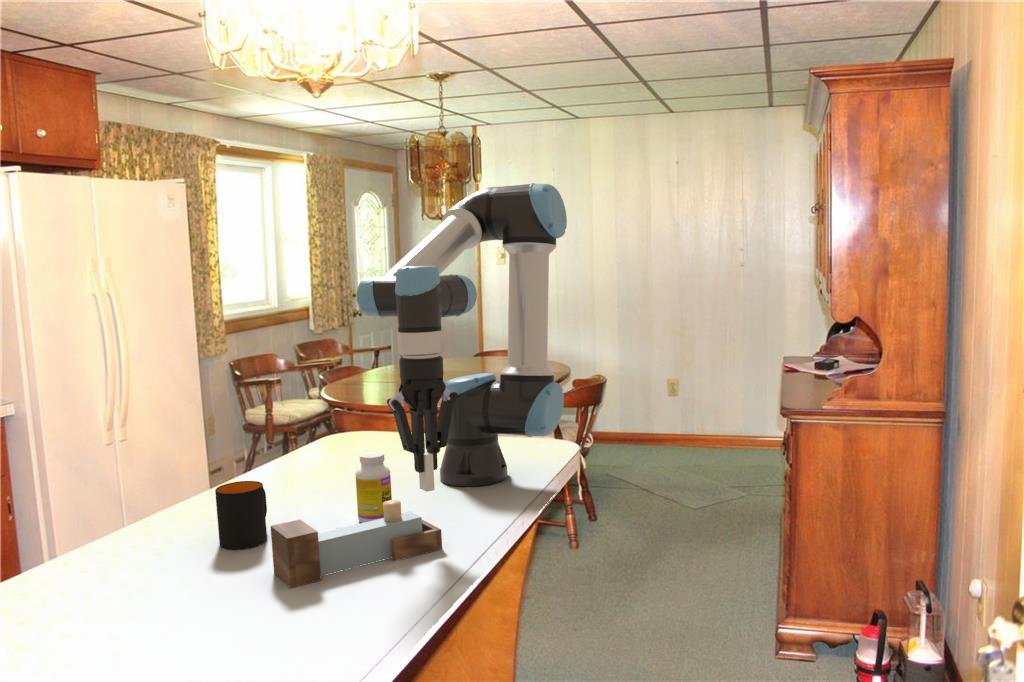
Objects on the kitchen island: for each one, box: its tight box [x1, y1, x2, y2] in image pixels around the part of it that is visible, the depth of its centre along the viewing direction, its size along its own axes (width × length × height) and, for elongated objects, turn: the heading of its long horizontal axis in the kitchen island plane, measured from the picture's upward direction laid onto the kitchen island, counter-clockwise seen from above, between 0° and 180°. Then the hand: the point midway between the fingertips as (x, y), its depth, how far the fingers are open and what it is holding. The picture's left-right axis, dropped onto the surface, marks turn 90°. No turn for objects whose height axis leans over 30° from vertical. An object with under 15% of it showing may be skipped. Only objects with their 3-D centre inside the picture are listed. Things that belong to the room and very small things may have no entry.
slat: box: [318, 499, 423, 577], centre depth 147 cm, size 19×4×9 cm, turn 124°
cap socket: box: [270, 519, 322, 589], centre depth 141 cm, size 5×8×8 cm, turn 33°
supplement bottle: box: [355, 451, 393, 523], centre depth 169 cm, size 7×7×13 cm
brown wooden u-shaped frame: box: [391, 519, 443, 562], centre depth 152 cm, size 9×8×4 cm
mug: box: [214, 480, 268, 551], centre depth 160 cm, size 8×12×10 cm
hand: (427, 489), depth 153 cm, fingers closed
